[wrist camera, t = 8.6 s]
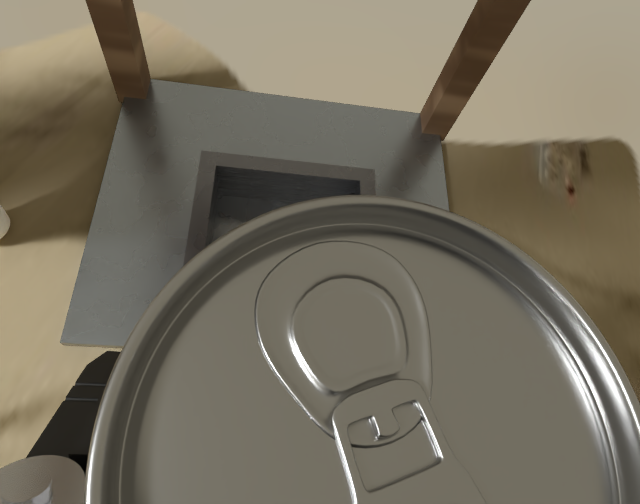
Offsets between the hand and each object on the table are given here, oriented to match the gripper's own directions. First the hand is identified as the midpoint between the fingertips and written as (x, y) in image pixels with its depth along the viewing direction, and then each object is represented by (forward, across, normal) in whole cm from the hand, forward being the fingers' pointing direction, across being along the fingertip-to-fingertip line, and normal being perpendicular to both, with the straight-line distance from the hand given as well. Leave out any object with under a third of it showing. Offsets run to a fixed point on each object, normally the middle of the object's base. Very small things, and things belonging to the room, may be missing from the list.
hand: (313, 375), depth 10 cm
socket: (+22, 0, +2) cm, 22 cm away
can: (+3, 0, +6) cm, 7 cm away
